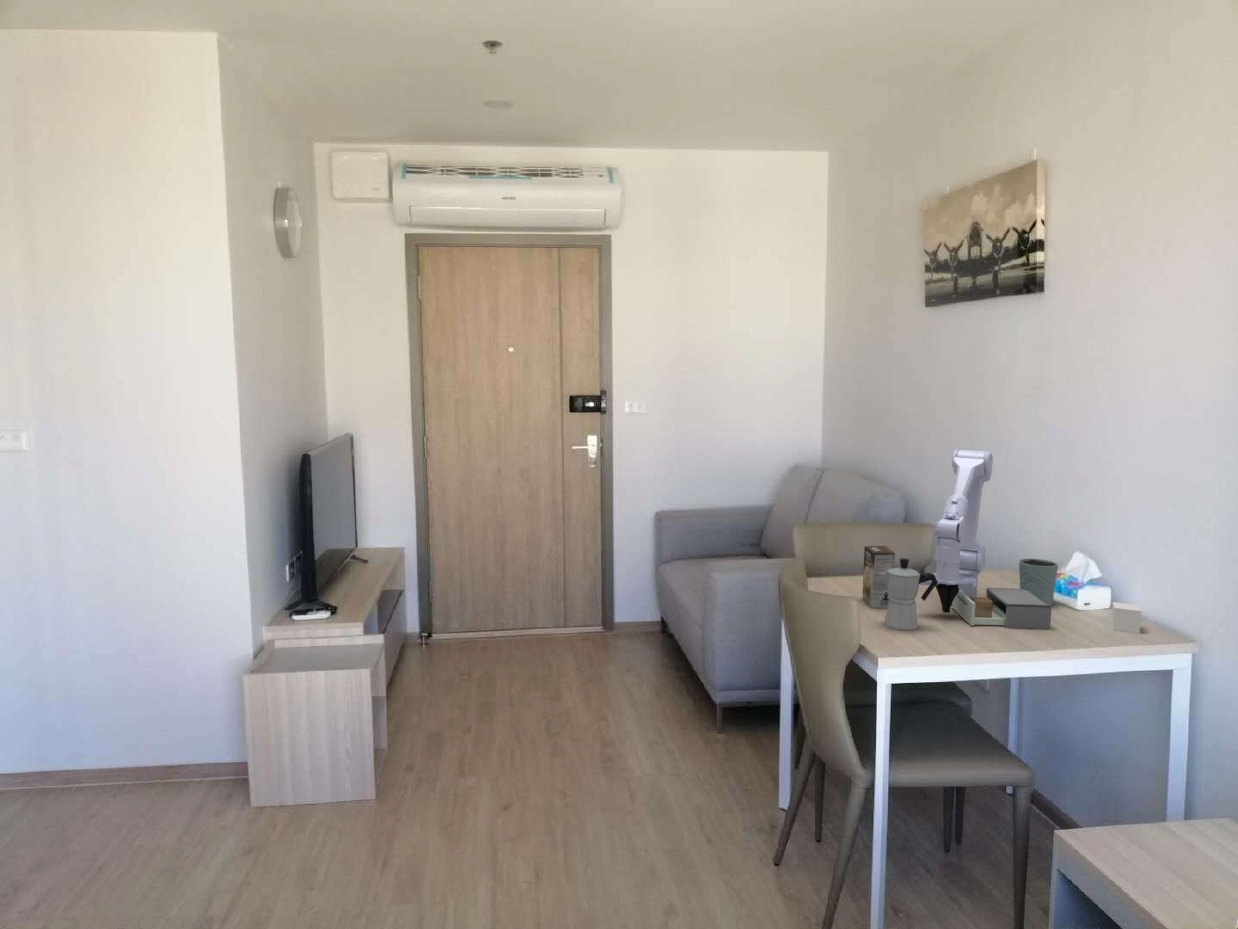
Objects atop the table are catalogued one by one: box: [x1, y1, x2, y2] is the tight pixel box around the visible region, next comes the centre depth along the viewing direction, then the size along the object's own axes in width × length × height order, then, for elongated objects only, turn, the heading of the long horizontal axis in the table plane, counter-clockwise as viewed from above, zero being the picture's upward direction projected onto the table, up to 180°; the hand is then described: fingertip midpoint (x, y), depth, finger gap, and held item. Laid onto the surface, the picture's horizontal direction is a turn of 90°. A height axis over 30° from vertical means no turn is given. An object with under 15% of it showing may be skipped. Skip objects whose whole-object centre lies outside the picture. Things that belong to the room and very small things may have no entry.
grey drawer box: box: [985, 587, 1053, 630], centre depth 225 cm, size 16×11×6 cm
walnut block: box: [969, 596, 993, 618], centre depth 226 cm, size 5×5×4 cm
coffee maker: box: [879, 557, 938, 632], centre depth 218 cm, size 15×9×18 cm, turn 82°
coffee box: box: [862, 545, 896, 609], centre depth 239 cm, size 9×6×16 cm
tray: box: [952, 590, 1006, 627], centre depth 226 cm, size 16×11×6 cm
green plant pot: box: [1018, 558, 1059, 606], centre depth 241 cm, size 10×10×12 cm
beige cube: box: [1110, 601, 1142, 634], centre depth 218 cm, size 6×6×6 cm
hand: (945, 611), depth 228 cm, fingers closed
